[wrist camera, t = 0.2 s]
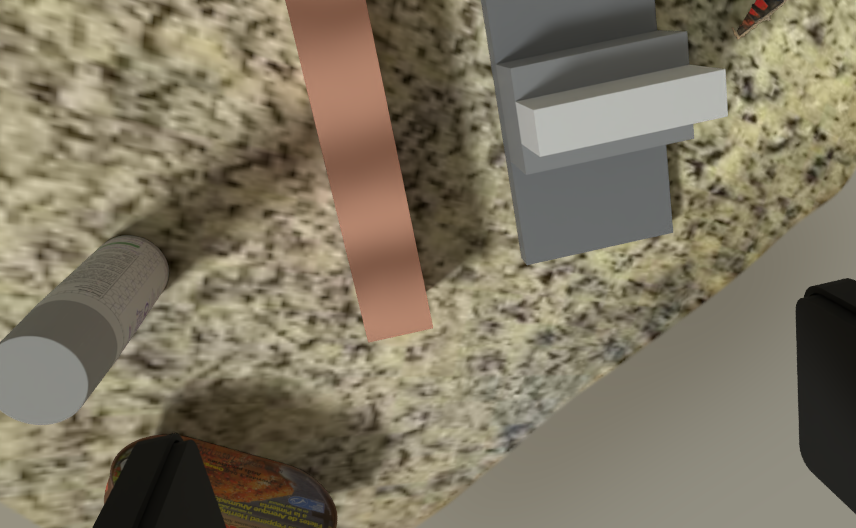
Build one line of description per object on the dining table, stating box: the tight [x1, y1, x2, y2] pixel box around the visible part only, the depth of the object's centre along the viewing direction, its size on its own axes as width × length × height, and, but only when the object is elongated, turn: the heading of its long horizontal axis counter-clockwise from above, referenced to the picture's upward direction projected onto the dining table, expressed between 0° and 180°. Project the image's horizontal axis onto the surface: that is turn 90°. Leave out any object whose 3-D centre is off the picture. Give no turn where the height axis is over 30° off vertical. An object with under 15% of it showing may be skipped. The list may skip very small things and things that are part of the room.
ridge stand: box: [481, 0, 728, 265], centre depth 41 cm, size 20×10×10 cm, turn 11°
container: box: [0, 235, 169, 425], centre depth 38 cm, size 5×5×15 cm
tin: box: [104, 435, 337, 528], centre depth 47 cm, size 15×3×8 cm, turn 67°
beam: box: [285, 0, 433, 342], centre depth 42 cm, size 22×4×6 cm, turn 11°
